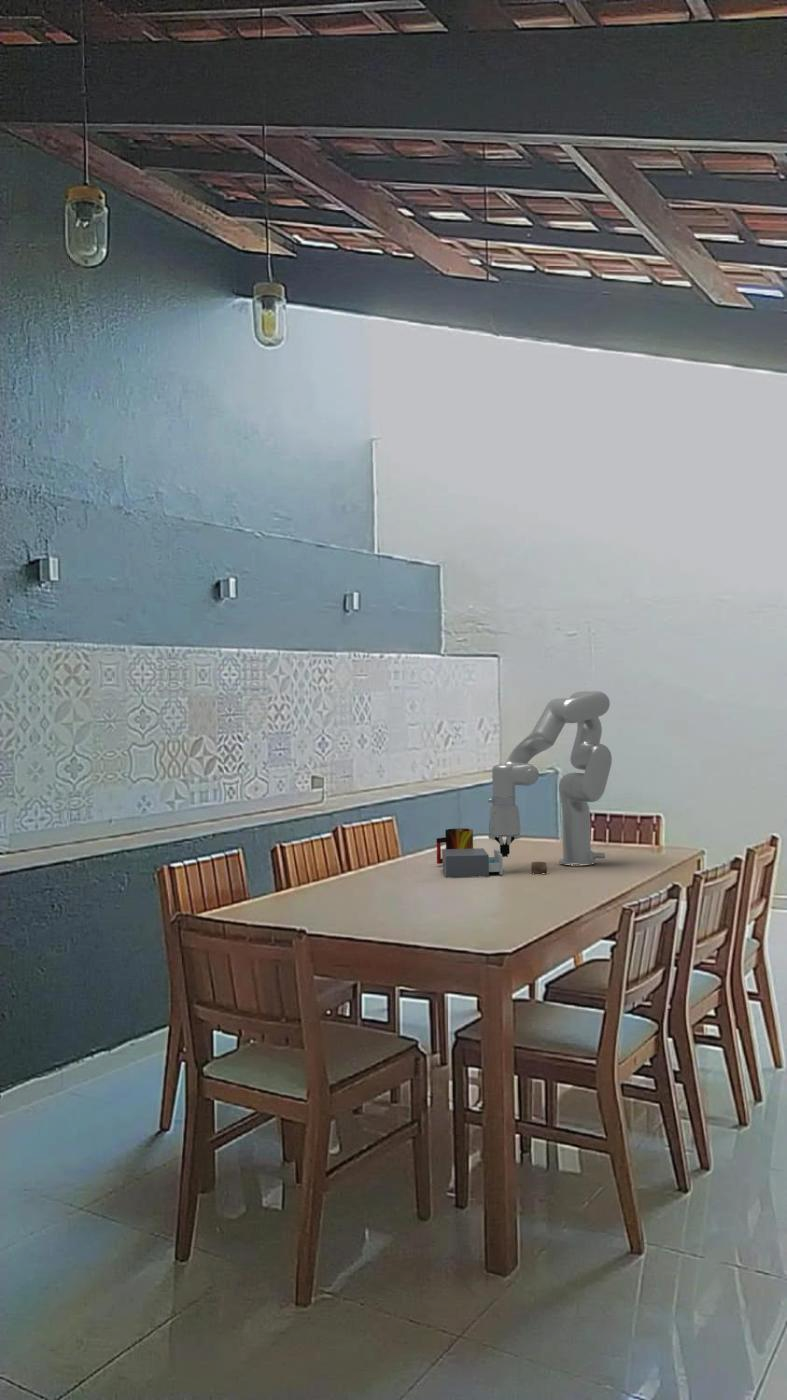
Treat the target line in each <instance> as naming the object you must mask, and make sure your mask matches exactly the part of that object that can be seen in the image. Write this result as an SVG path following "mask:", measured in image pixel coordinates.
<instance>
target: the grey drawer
mask: <svg viewBox="0 0 787 1400" xmlns="http://www.w3.org/2000/svg"><path fill="white" fill-rule="evenodd" d="M493 855H494V856H489V859H493V860H494V863H489V873H495V872H496V873H498V874H499V875H500V876H503V874H504V871H503V866H504V865H503V864H504V863H503V856H502V854H501V853H500V850H499V849H498V848H493Z"/></svg>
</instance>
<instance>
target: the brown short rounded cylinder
mask: <svg viewBox="0 0 787 1400" xmlns="http://www.w3.org/2000/svg"><path fill="white" fill-rule="evenodd" d="M530 866H531V867H530V868H531V874H532V873H534V874H533V875H535V874H542V873H547V872H548V870H547V869H548V867H547V866H548V863H547V862H546V861H533V862H531V865H530ZM547 874H548V873H547Z"/></svg>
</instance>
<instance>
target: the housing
mask: <svg viewBox="0 0 787 1400" xmlns="http://www.w3.org/2000/svg"><path fill="white" fill-rule="evenodd" d="M441 851H442V852H441V859H442V862H443V863H442V871H444V872H443V873H445V874H444V876H445V875H446V876H445V878H446V877H454V878H467V877H466V876H478V877H479V876H485V877H488V876H489V877H490V872H489V857H490V856H489V853H488V852H487V851H486V850H485V849H484V848H483V847H482V848H480V847H478V848H473V849H446V848H445V849H441ZM478 877H477V878H478ZM479 878H480V877H479Z"/></svg>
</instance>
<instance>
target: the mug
mask: <svg viewBox="0 0 787 1400" xmlns="http://www.w3.org/2000/svg"><path fill="white" fill-rule="evenodd" d="M443 843H445V849H474V830H473V829H472V828H462V827H461V828H447V829H445V837H436V864H437V865H438V864H439V865H442V864H443V862H442V852H441V851H442V849H441V845H442V844H443Z"/></svg>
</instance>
